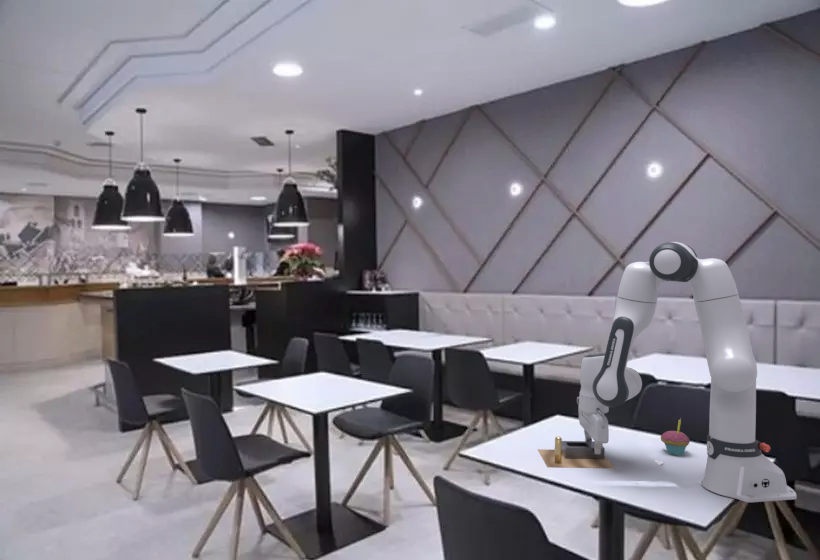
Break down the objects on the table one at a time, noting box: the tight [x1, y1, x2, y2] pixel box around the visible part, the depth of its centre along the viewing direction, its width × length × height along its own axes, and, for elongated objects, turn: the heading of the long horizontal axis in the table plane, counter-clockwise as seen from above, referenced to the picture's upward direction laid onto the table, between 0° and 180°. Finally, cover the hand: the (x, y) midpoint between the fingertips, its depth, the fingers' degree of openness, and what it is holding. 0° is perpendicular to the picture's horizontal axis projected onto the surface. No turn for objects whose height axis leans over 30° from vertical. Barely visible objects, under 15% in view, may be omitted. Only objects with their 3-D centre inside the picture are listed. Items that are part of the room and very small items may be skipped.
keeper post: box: [554, 436, 563, 464], centre depth 173 cm, size 2×2×8 cm
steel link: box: [562, 440, 606, 459], centre depth 180 cm, size 12×7×3 cm, turn 88°
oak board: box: [537, 448, 617, 469], centre depth 177 cm, size 20×16×2 cm
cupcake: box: [660, 417, 691, 456], centre depth 186 cm, size 9×8×12 cm
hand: (592, 448), depth 179 cm, fingers open, 8 cm apart
